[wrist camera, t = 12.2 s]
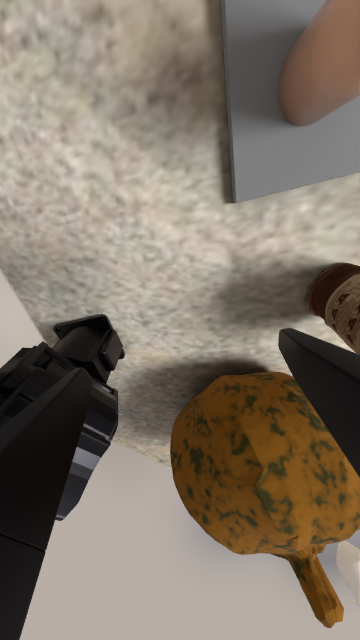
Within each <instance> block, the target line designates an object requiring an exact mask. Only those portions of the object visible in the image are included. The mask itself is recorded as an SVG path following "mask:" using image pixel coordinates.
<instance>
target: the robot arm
mask: <svg viewBox="0 0 360 640" xmlns="http://www.w3.org/2000/svg"><path fill="white" fill-rule="evenodd" d="M101 318H103V319H105V320H102V319H101ZM58 328H59V329H60V330H59V329H58ZM53 329H54V331H55V333H56V334H57V336H58V337H59V339H60V340H59V341H58V342H57V343H56V344H55V345H54V347H53V348H50V347H49V346H48V344H46V343H45V342H42V343H40V344H39V345H38V346H34V347H33V348H22V349H21V350H20V351H19V352H18V353H17V354H16V355H15V356H13V357H12V358H11V359H10V360H9V361H8V362H7V363H6V364H5V365H4V366H2V368H0V640H19V639H20V636H21V633H22V629H23V626H24V623H25V619H26V615H27V612H28V609H29V606H30V602H31V599H32V596H33V592H34V589H35V586H36V582H37V579H38V576H39V572H40V569H41V566H42V562H43V559H44V556H45V550H46V548H47V545H48V541H49V538H50V535H51V532H52V528H53V525H54V522H55V520H58V521H61V520H63V519H64V518H65V517H66V516H67V515H68V514H69V513H70V512H71V510H72V509H73V508H74V507H75V506H76V505H77V504H78V502H79V500H80V498H81V496H82V494H83V491H84V489H85V487H86V485H87V483H88V480H89V478H90V476H91V474H92V472H93V470H94V469H95V467H96V465H97V463H98V462H99V460H100V458H101V457H102V455H103V454H104V453H105V451H106V450H107V449H108V447H109V446H110V443H111V440H112V438H113V436H114V434H115V432H116V429H117V426H118V390H116V389H114V388H111V387H110V386H108V385H107V384H106V383H107V380H108V378H109V375H110V372H111V371H113V370H114V369H115V367H116V364H117V362H118V360H119V359H123V358H124V356H125V353H124V350H123V348H122V347H123V345H122V343H121V341H120V339H119V337H118V335H117V333H116V331H115V330H113V328H112V325H111V323H110V321H109V319H108V317H107V316H106V315H99V316H94V317H90V318H85V319H81V320H76V321H71V322H67V323H62V324H58V325H56V326H55V327H54V328H53ZM278 346H279V349H280V351H281V353H282V355H283V357H284V359H285V361H286V363H287V365H288V367H289V369H290V371H291V373H292V375H293V377H294V379H295V380H296V382H297V384H298V385H299V387H300V388H301V390H302V391H303V393H304V394H305V396H306V397H307V399H308V400H309V402H310V403H311V405H312V406H313V408H314V409H315V411H316V412H317V414H318V415H319V417H320V418H321V420H322V422H323V423H324V425H325V426H326V428H327V429H328V431H329V432H330V434H331V435H332V437H333V438H334V440H335V441H336V443H337V444H338V446H339V447H340V449H341V450H342V452H343V453H344V455H345V456H346V458H347V459H348V461H349V462H350V464H351V465H352V467H353V468H354V470H355V471H356V473H357V474H358V476H359V477H360V355H359V354H356V353H354V352H351V351H348V350H346V349H343V348H341V347H338V346H336V345H333V344H331V343H328V342H325V341H323V340H320V339H318V338H315V337H313V336H310V335H308V334H305V333H303V332H300V331H297V330H295V329H292V328H285V329H281V330H280V331H279V342H278Z"/></svg>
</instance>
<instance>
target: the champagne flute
mask: <svg viewBox="0 0 360 640" xmlns="http://www.w3.org/2000/svg"><path fill="white" fill-rule="evenodd" d="M337 566H338V569H339V571H340V573H341V575H342V577H343V579H344V580H345V583H346V584H347V586H348V588H349V590H350V592H351V594H352V596H353V597H354V599H355V601H356V603H357V605H358V607H359V609H360V550H359V549H357V548H356V547H354V546H353V545H352V544H350V543H348V542H346V541H345V540H344V541H341V542H340V543H339V545H338V550H337Z"/></svg>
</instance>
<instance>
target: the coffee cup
mask: <svg viewBox="0 0 360 640" xmlns="http://www.w3.org/2000/svg"><path fill="white" fill-rule="evenodd" d="M307 304H308V309H309V310H311V312H312V313H313V315H316V316H319V317H321V318H323V319H324V321H325V323H326V325H327V326H329V327H330V328H332V329H333V330H334V331H335V332H336V333H337V334H338V335H339V337H340V338H341V339H342V340H343V341H344V342H345V343H346V344H347V345H348V346H349V347H350V348H351V349H352V350H354V351H355V352H356V353H357V354H359V355H360V266H357V265H353V264H350V263H341V264H338V265H335V266H333V267H330V268H328V269H327V270H325V271H324V272H323V273H321V274H320V275H319V276H318V277H317V279H316V280H315V281H314V282H313V284H312V285H311V287H310V289H309V292H308V295H307Z"/></svg>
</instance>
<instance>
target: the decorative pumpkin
mask: <svg viewBox="0 0 360 640" xmlns="http://www.w3.org/2000/svg"><path fill="white" fill-rule="evenodd" d="M170 454H171V465H172V471H173V479H174V482H175V485H176V488H177V490H178V493H179V495H180V498H181V500H182V502H183V504H184V505H185V507H186V509H187V511H188V512H189V514H190V515H191V516H192V517H193V518H194V520H196V522H197V523H198V524H199V525H200V526H201V527H202V528H203V530H204V531H205V532H206V533H207V534H208V535H210V536H211V537H212V538H213V539H214V540H216V541H217V542H219V543H220V544H222V545H224V546H225V547H227V548H228V549H229V550H231V551H232V552H234V553H237V554H241V555H245V554H256V553H270V554H273V555H275V556H278V557H281V558H284V559H287V560H288V561H289V562H290V564H291V566H292V568H293V570H294V572H295V574H296V576H297V578H298V580H299V582H300V585H301V587H302V589H303V591H304V593H305V595H306V597H307V599H308V601H309V603H310V605H311V607H312V610H313V612H314V614H315V616H316V618H317V619H318V620H319V621H320V622H321V623H322V624H323V625H324V626H325V627H327V628H331V627H332V626H333V625H334V624H335V623H336V622H341V621H342V620H343V613H344V608H343V606H342V604H341V602H340V600H339V598H338V596H337V594H336V592H335V591H334V589H333V587H332V585H331V583H330V581H329V580H328V578H327V576H326V574H325V572H324V570H323V568H322V566H321V564H320V562H319V560H318V558H317V554H318V553H321V552H323V551H324V548H325V546H326V544H330V543H336V542H341V541H344V540H346V539H349V538H350V537H351V536H352V535H353V534H354V533H355V532H356V531H357V530H359V529H360V477H359V476H358V474H357V473H356V471H355V470H354V468H353V467H352V465H351V464H350V462H349V461H348V459H347V458H346V456H345V455H344V453H343V452H342V450H341V449H340V447H339V446H338V444H337V443H336V441H335V440H334V438H333V437H332V435H331V434H330V432H329V431H328V429H327V428H326V426H325V425H324V423H323V422H322V420H321V418H320V417H319V415H318V414H317V412H316V411H315V409H314V408H313V406H312V405H311V403H310V402H309V400H308V399H307V397H306V396H305V394H304V393H303V391H302V390H301V388H300V387H299V385H298V384H297V382H296V380H295V379H294V377H292V376H290V375H288V374H285V373H281V372H259V373H250V374H246V375H221V376H220V377H218V378H216V379H215V380H214V381H213V382H212V383H211V384H210V385H209V386H208V387H206V388H205V389H204V390H203V391H202V392H201V393H200V394H199V395H197V396H196V397H194V398H193V399H192V400H190V401H189V402H188V403H187V404H186V406H185V407H184V408H183V410H182V411H181V413H180V414H179V416H178V417H177V418H176V420H175V422H174V426H173V430H172V435H171V448H170Z"/></svg>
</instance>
